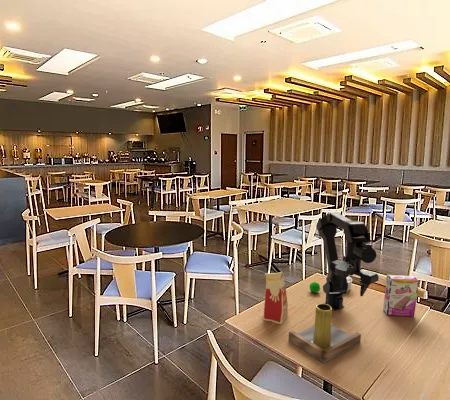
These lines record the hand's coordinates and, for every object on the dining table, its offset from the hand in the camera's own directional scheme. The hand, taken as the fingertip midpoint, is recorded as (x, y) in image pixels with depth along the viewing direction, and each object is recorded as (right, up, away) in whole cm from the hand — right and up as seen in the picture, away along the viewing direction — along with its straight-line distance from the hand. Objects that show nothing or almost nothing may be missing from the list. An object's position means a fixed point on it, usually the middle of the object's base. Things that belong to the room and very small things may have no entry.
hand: (351, 291), depth 132 cm
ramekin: (+7, -8, +34) cm, 35 cm away
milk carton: (-29, -12, +6) cm, 32 cm away
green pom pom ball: (-7, -8, +29) cm, 31 cm away
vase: (-16, -15, -15) cm, 26 cm away
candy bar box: (+24, -12, +9) cm, 28 cm away
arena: (-14, -15, -11) cm, 23 cm away
